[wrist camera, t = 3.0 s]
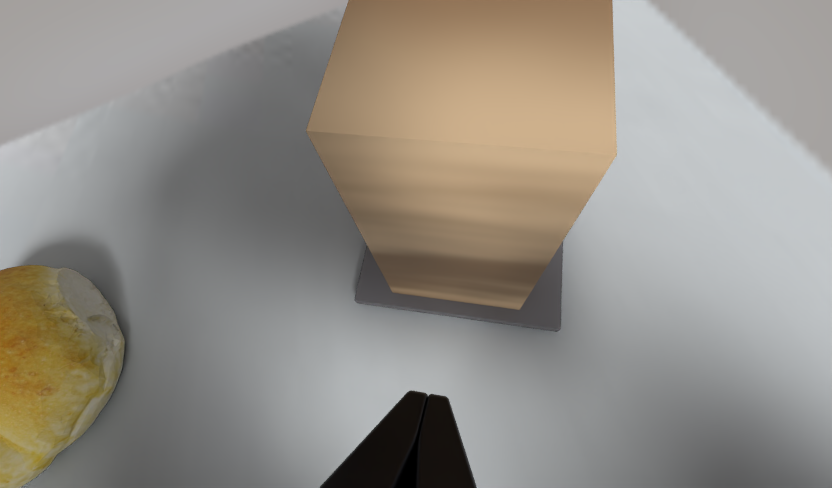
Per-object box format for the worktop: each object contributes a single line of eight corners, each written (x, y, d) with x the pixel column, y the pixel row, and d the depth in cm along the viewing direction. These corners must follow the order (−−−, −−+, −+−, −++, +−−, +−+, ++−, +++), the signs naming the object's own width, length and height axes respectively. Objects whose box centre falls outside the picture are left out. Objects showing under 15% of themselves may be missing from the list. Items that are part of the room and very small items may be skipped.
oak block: (519, 309, 15) (616, 154, 6) (392, 292, 16) (305, 130, 7) (525, 217, 17) (610, -21, 7) (409, 205, 17) (357, -25, 8)
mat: (557, 331, 15) (560, 329, 15) (357, 302, 16) (354, 299, 16) (565, 53, 21) (568, 45, 20) (414, 47, 22) (413, 39, 21)
